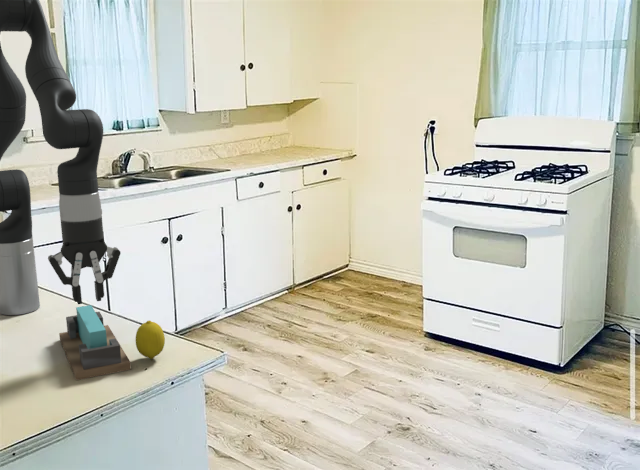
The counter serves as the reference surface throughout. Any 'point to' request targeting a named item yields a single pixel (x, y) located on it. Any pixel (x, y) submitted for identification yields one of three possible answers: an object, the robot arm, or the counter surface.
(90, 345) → the slat
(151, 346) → the lemon
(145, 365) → the counter surface
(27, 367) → the counter surface
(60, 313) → the counter surface
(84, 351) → the slat frame
